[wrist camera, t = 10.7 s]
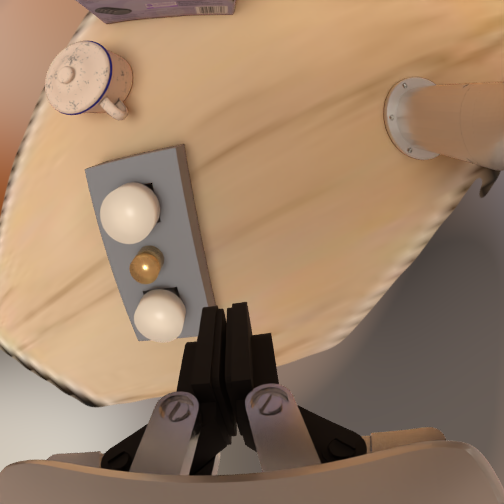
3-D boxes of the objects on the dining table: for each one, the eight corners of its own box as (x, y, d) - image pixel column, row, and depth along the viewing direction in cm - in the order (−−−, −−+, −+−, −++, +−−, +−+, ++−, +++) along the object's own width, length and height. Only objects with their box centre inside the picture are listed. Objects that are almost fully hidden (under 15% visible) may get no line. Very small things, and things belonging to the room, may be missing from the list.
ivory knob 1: (165, 169, 39) (146, 182, 31) (174, 215, 41) (159, 239, 33) (121, 178, 39) (94, 194, 31) (131, 222, 41) (108, 247, 33)
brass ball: (160, 243, 38) (153, 254, 35) (167, 269, 39) (161, 282, 36) (134, 247, 38) (125, 259, 35) (141, 272, 39) (134, 285, 36)
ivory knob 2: (185, 265, 44) (175, 298, 36) (195, 303, 47) (188, 340, 39) (144, 271, 44) (127, 304, 36) (156, 307, 47) (142, 343, 39)
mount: (184, 144, 39) (175, 147, 33) (217, 311, 49) (215, 334, 44) (103, 162, 39) (84, 169, 33) (147, 318, 49) (138, 341, 44)
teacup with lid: (66, 87, 34) (20, 83, 23) (110, 41, 32) (71, 20, 21) (114, 141, 38) (75, 150, 27) (161, 94, 36) (134, 85, 25)
